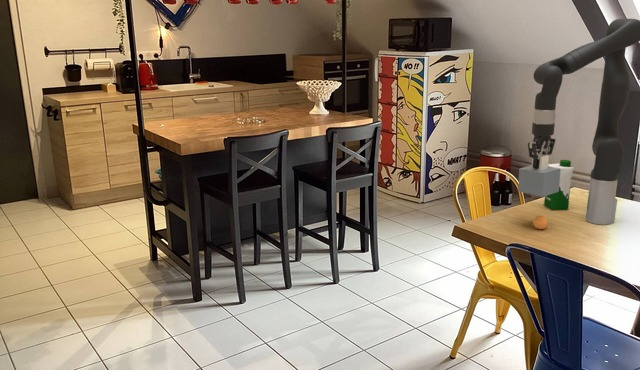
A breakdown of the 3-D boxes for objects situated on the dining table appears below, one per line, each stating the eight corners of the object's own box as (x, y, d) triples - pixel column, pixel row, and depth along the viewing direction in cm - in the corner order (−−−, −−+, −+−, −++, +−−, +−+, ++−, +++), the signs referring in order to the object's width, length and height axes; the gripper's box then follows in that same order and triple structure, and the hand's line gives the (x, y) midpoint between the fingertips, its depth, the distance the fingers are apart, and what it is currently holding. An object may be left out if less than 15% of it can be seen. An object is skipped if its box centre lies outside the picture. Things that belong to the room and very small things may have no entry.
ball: (545, 213, 209) (549, 226, 209) (531, 217, 211) (536, 230, 211) (545, 214, 205) (549, 227, 204) (531, 218, 207) (535, 231, 206)
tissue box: (534, 186, 214) (536, 151, 210) (558, 191, 205) (561, 155, 202) (518, 191, 208) (520, 155, 204) (542, 196, 200) (544, 159, 196)
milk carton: (571, 210, 228) (576, 163, 222) (550, 211, 227) (555, 164, 222) (560, 203, 236) (565, 158, 231) (540, 204, 235) (544, 159, 230)
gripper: (546, 118, 207) (541, 162, 211) (522, 122, 199) (518, 168, 204) (564, 120, 201) (560, 166, 205) (541, 125, 193) (536, 172, 198)
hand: (539, 167), depth 204 cm, fingers closed on tissue box, 4 cm apart
